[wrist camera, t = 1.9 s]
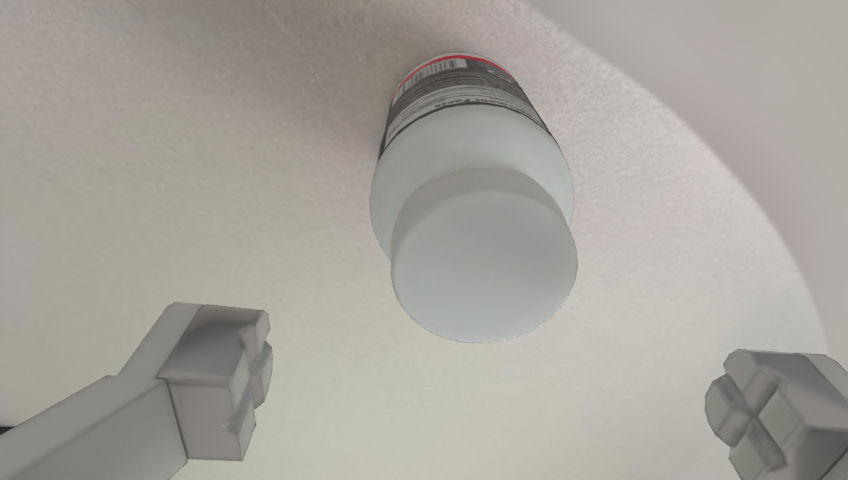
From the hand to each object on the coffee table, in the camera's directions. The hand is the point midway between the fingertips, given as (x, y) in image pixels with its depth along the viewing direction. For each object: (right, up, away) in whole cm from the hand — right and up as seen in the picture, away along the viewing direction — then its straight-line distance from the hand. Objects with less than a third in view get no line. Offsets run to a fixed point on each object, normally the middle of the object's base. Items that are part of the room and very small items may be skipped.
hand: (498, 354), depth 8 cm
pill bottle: (0, +7, +10) cm, 12 cm away
